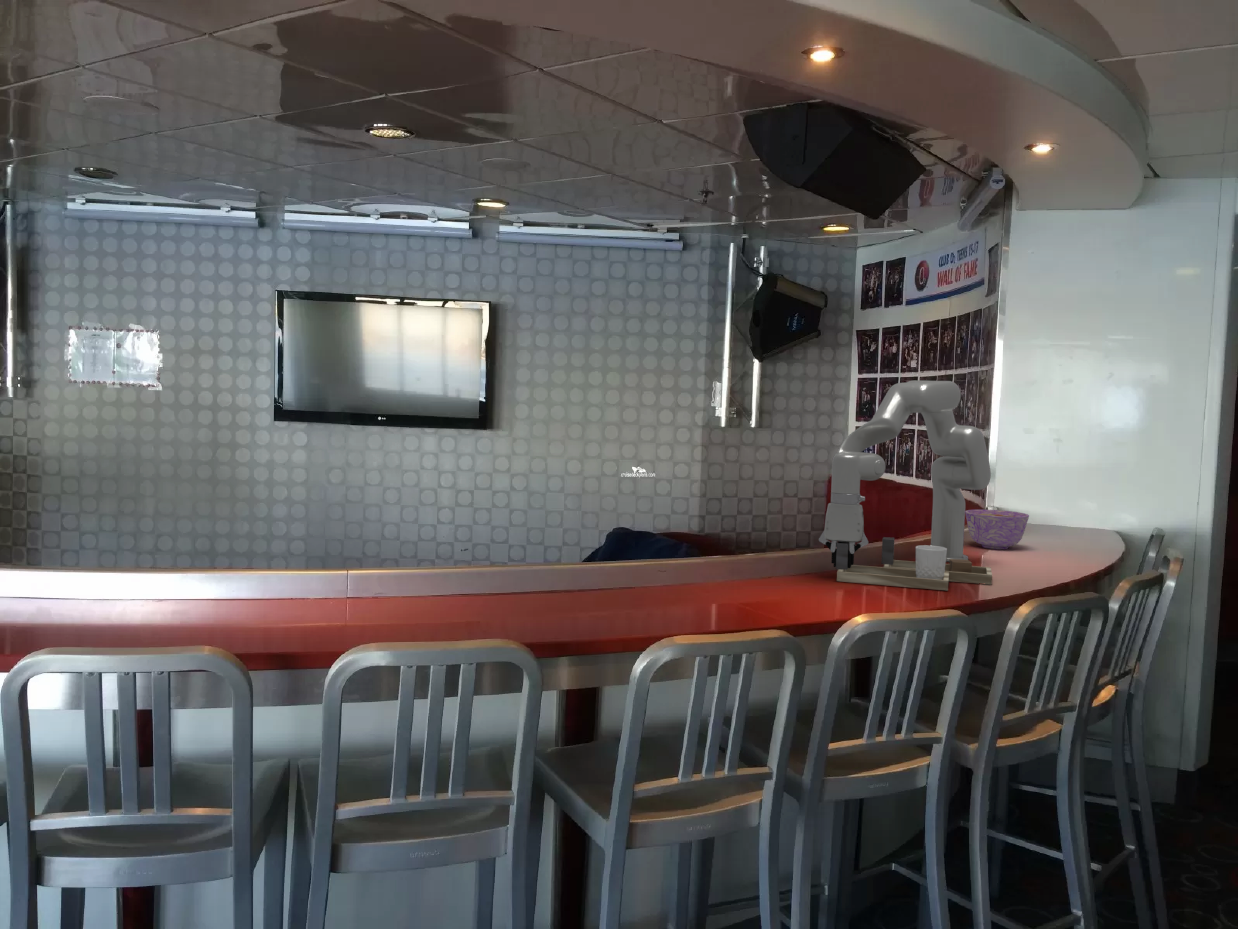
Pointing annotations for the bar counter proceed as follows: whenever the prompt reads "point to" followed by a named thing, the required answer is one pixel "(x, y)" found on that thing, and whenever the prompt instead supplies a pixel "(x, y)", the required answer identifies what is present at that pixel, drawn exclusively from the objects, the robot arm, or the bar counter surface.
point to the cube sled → (974, 577)
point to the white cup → (930, 562)
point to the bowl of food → (996, 527)
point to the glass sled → (882, 573)
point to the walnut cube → (960, 566)
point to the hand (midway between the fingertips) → (842, 566)
